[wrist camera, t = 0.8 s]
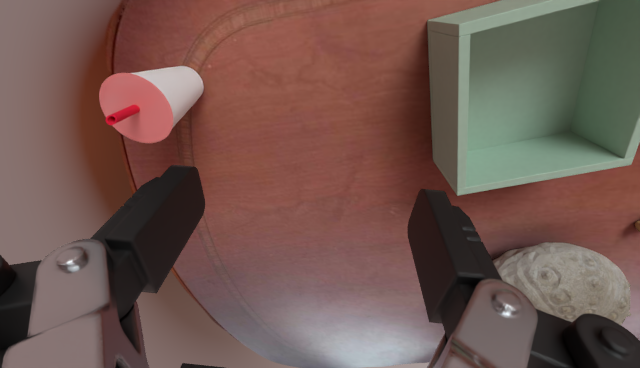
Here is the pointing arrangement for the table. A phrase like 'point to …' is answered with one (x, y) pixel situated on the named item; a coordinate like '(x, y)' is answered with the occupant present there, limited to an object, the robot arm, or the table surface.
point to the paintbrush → (637, 225)
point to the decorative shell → (567, 280)
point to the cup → (149, 101)
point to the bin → (534, 90)
